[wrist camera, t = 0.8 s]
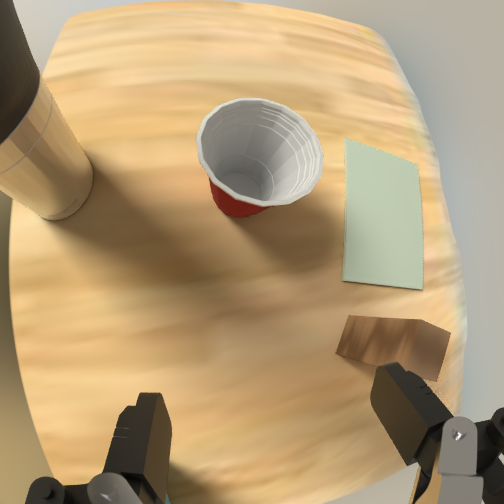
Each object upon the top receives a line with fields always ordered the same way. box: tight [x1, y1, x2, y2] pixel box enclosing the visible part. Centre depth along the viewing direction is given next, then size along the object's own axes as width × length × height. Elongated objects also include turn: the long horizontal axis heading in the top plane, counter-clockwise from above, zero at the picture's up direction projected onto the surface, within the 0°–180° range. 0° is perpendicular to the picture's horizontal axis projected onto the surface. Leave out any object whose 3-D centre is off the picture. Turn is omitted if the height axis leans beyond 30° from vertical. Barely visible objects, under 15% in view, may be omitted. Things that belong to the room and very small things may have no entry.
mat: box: [342, 138, 423, 289], centre depth 38 cm, size 20×14×1 cm
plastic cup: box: [196, 98, 324, 217], centre depth 28 cm, size 11×11×12 cm
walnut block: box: [336, 315, 451, 382], centre depth 29 cm, size 5×5×13 cm
